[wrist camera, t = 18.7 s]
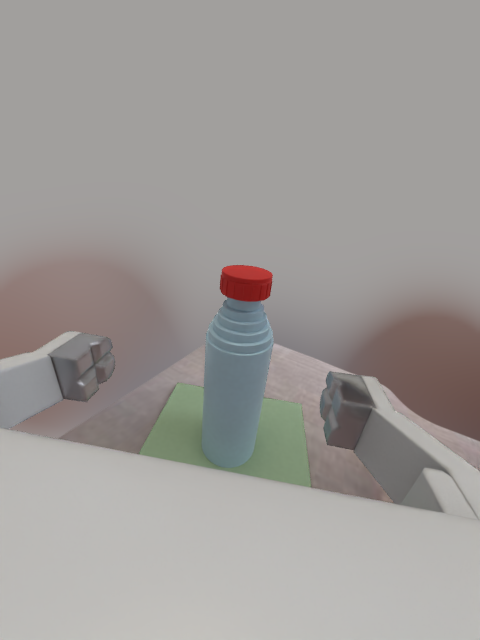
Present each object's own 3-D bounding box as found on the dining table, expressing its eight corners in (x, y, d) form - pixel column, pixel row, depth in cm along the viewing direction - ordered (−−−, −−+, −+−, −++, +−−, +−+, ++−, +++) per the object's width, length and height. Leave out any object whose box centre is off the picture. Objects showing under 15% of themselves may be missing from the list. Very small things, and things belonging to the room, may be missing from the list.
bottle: (256, 425, 31) (283, 272, 22) (251, 473, 25) (285, 294, 17) (208, 417, 31) (217, 263, 23) (194, 462, 26) (199, 283, 17)
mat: (300, 406, 35) (301, 403, 35) (316, 546, 21) (318, 543, 21) (177, 385, 37) (177, 382, 36) (113, 503, 22) (112, 499, 22)
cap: (270, 288, 22) (273, 268, 21) (268, 305, 18) (272, 282, 18) (225, 282, 22) (226, 262, 22) (215, 297, 19) (216, 275, 18)
